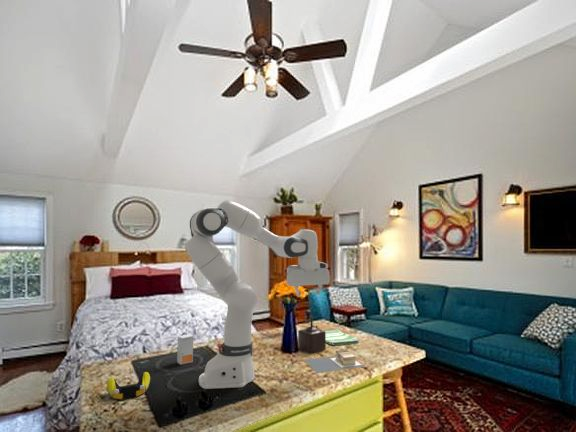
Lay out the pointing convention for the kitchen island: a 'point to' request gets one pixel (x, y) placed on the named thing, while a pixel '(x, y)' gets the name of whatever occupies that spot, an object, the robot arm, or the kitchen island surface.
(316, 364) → the mat
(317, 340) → the manual coffee grinder
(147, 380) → the gaming controller
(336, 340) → the dish towel
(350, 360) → the tan rectangular block
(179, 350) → the skincare box
